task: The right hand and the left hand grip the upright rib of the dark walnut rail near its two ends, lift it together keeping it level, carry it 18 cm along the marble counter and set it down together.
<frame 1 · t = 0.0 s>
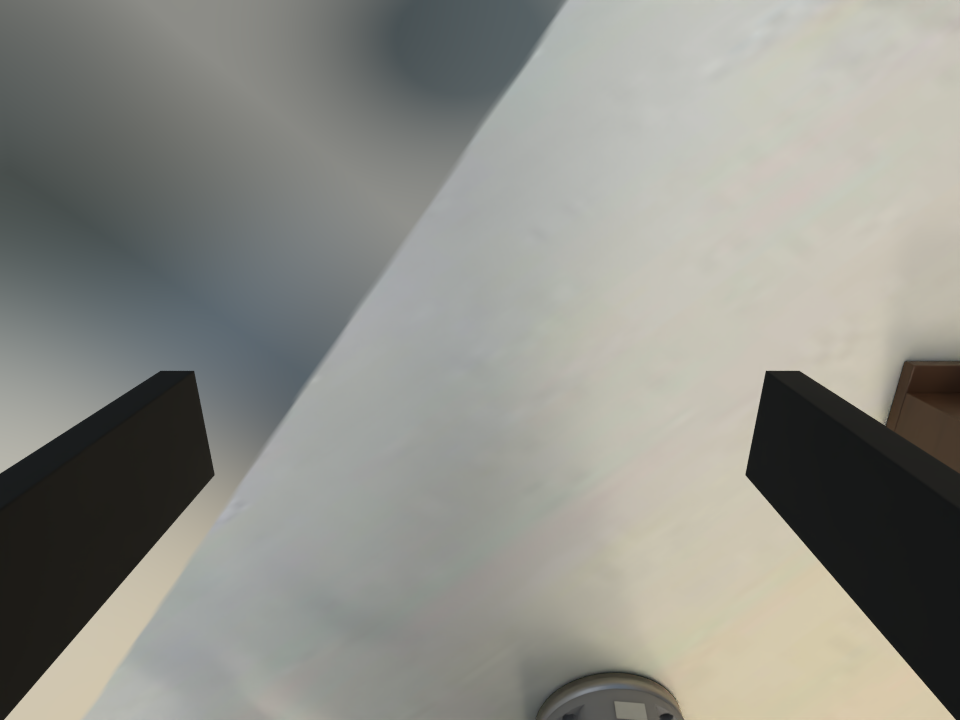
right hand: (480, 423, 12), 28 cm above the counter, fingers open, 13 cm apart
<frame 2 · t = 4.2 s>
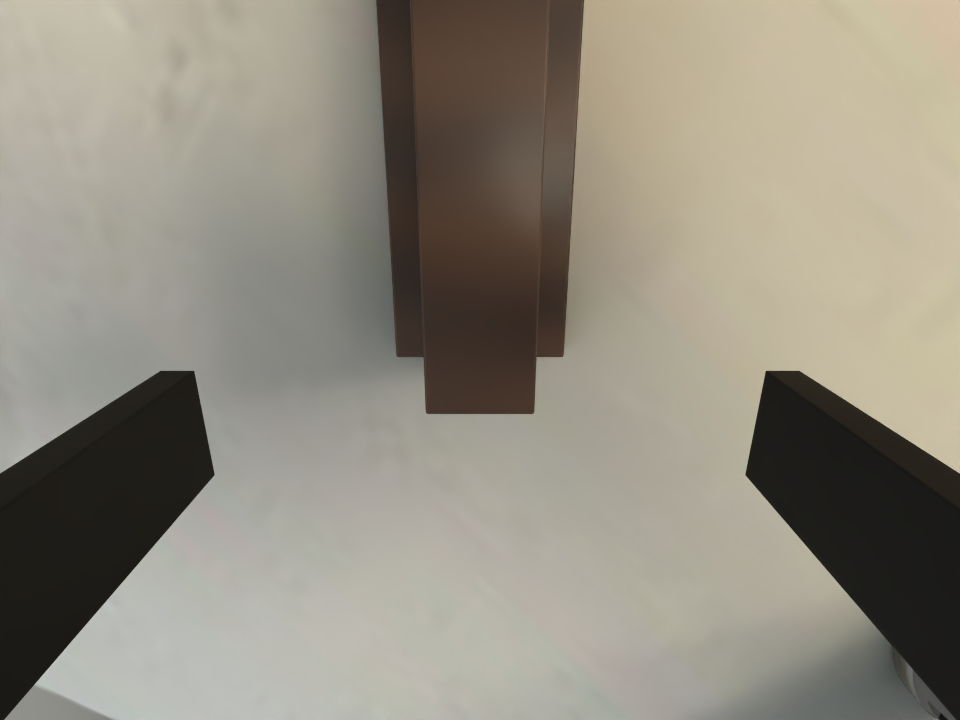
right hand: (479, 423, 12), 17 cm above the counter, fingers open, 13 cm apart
rail: (480, 17, 24), on the counter, touching left hand
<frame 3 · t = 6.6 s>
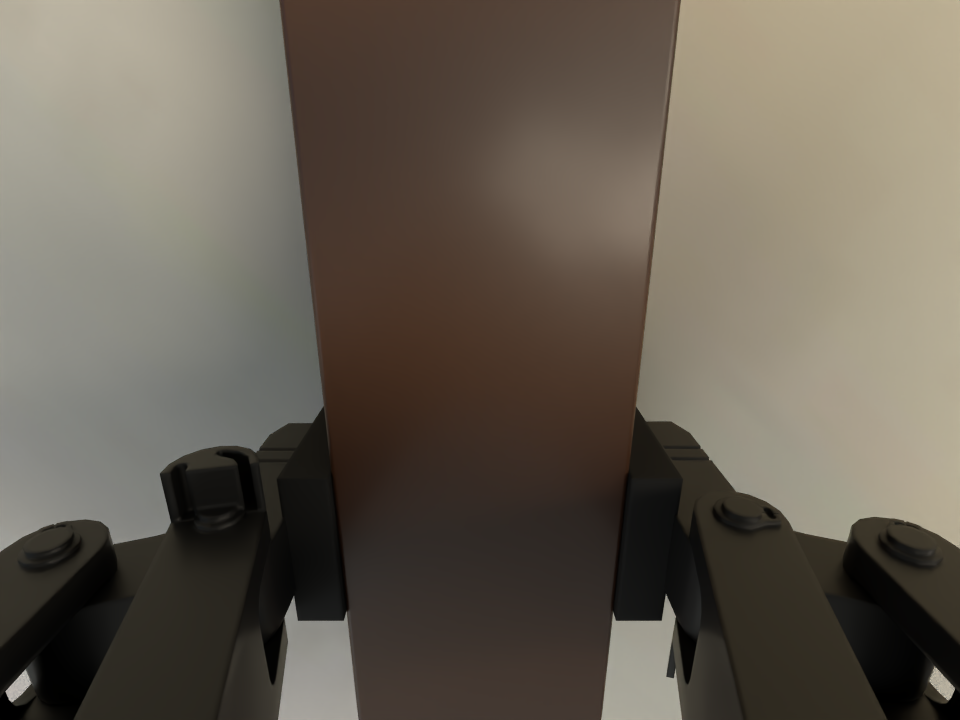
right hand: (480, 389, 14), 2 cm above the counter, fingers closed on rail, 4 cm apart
when the right hand's fingers open (2 cm above the counter, at t = 13.9 s): rail stays where it is, on the counter.
when the left hand's fingers open (4 cm above the counter, at t = 14.1 s): rail stays where it is, on the counter.
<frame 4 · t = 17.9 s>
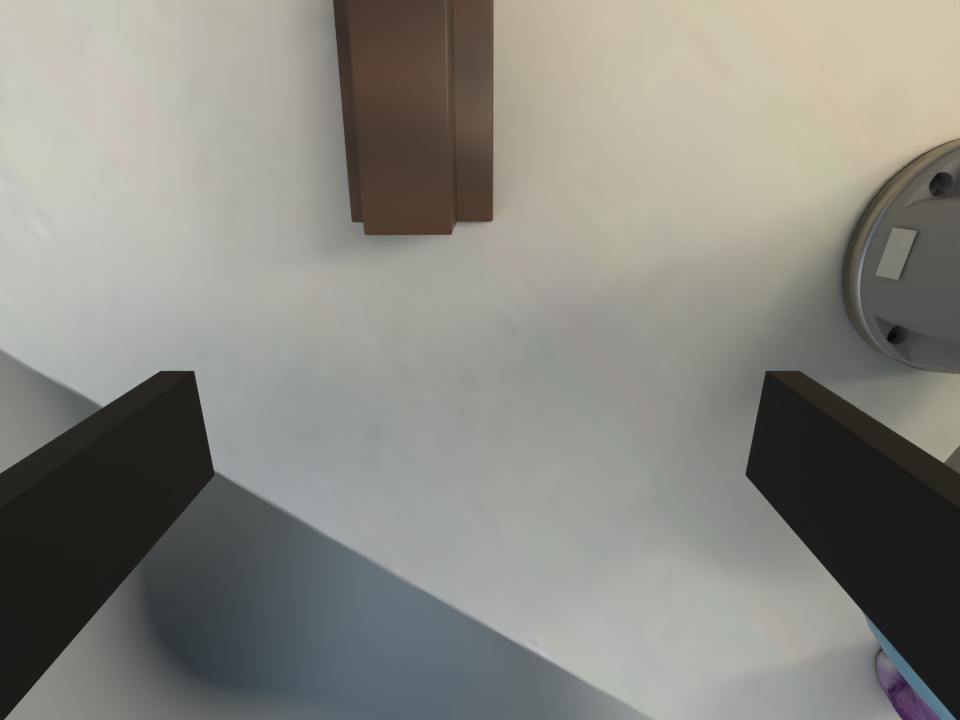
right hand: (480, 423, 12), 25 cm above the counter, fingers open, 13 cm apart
figurine: (911, 657, 48), on the counter
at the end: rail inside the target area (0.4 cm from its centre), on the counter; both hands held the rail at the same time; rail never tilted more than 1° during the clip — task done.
